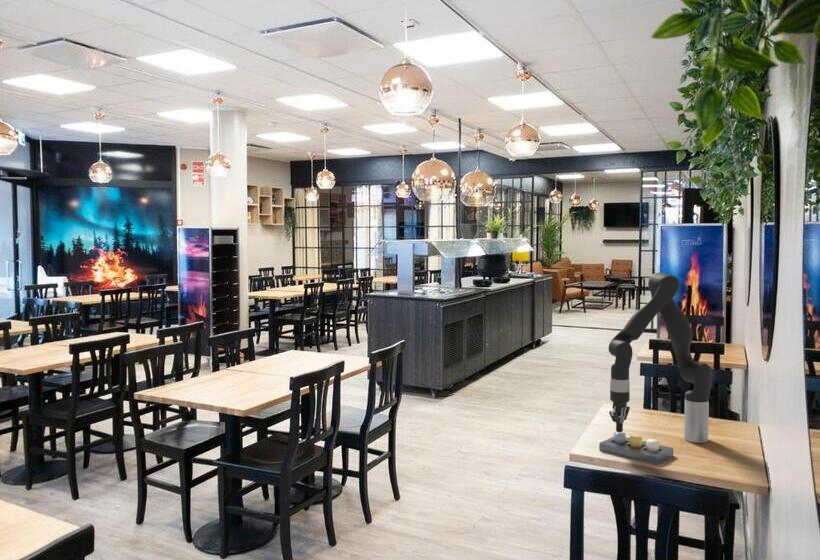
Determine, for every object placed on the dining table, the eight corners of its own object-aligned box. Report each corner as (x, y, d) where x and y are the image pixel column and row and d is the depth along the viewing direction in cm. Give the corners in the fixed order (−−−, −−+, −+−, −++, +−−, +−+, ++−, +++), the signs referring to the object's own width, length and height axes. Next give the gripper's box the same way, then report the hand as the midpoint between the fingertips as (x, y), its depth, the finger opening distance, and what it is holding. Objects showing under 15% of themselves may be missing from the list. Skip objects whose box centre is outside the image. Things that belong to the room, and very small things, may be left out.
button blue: (617, 440, 261) (617, 430, 261) (627, 443, 258) (627, 433, 258) (611, 443, 258) (611, 433, 258) (622, 446, 255) (622, 435, 255)
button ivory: (649, 448, 251) (649, 438, 251) (661, 451, 248) (661, 440, 248) (644, 451, 248) (644, 440, 248) (655, 454, 245) (655, 443, 244)
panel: (616, 442, 267) (616, 435, 266) (673, 455, 249) (673, 448, 249) (599, 450, 257) (599, 442, 257) (656, 464, 240) (656, 457, 239)
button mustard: (633, 444, 256) (633, 434, 256) (644, 447, 253) (644, 436, 253) (627, 447, 253) (627, 437, 253) (638, 450, 250) (638, 439, 250)
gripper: (620, 393, 249) (619, 437, 250) (636, 388, 258) (636, 430, 259) (602, 390, 255) (602, 433, 256) (619, 385, 264) (619, 426, 265)
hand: (619, 431), depth 258 cm, fingers closed
